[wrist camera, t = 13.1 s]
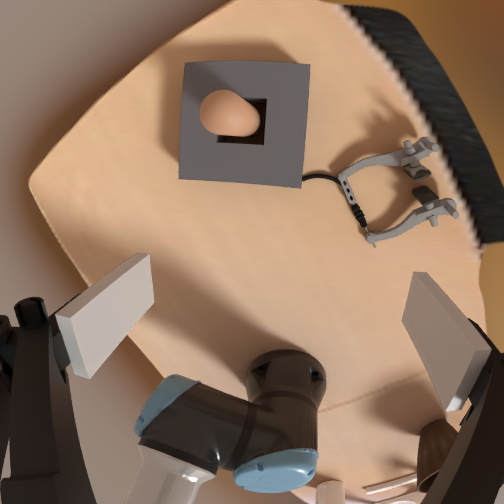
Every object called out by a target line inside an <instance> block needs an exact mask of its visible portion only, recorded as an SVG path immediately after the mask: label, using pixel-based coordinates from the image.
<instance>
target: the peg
mask: <svg viewBox="0 0 504 504" xmlns="http://www.w3.org/2000/svg"><path fill="white" fill-rule="evenodd" d="M199 116H200V120H201V123H202V125H203V126H204V127H205V128H206V129H207V130H208V131H209V132H211V133H214V134H217V135H230V136H241V137H252V136H255V135H257V134H258V133H259V132H260V131H261V129H262V127H263V124H264V120H263V116H262V114H261V113H260V112H259V111H258V110H257V109H256V108H255V107H253V106H252V105H251V104H249V103H248V102H247V101H245V100H244V99H243V98H241V97H240V96H239V95H237V94H236V93H234V92H232V91H229V90H218V91H215V92H212V93H211V94H209V95H208V96H207V97H206V98H205V99H204V100H203V102H202V104H201V106H200V111H199Z"/></svg>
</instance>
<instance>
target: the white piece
mask: <svg viewBox="0 0 504 504" xmlns="http://www.w3.org/2000/svg"><path fill="white" fill-rule="evenodd" d="M416 480H417V473H416V474H413V475H410V476H407V477H403V478H400V479H397V480H394V481H390V482H387V483H383V484H379V485H376V486H372V487H368V488H366V494H367V495H368V494H372V493H376V492H380V491H384V490H387V489H391V488H394V487H398V486H401V485H404V484H407V483H410V482H414V481H416ZM426 494H427V493H420V492H419V491H416V492H413V493H410V494H406V495H403V496H400V497H396V498H393V499H389V500H385V501H382V502H378V503H374V504H396V503H401V502H410V503H414V504H420V503H421V502H422V500H423V499H424V497H425V495H426Z"/></svg>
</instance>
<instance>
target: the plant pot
mask: <svg viewBox="0 0 504 504" xmlns="http://www.w3.org/2000/svg"><path fill="white" fill-rule="evenodd" d="M457 435H458V432H457V431H456V430H455V429H454V428H453V427H452V426H451V425H450V424H449V423H448V422H447V421H445V420H437V421H434V422H432V423H430V424H428V425H427V426H425V427H424V428H423V430H422V431H421V434H420V440H419V448H418V458H417V490H418V491H419V492H420V493H427V492H428V491H429V489H430V487H431V485H432V484H433V482H434V480H435V479H436V477H437V475H438V473H439V471H440V470H441V468H442V466H443V464H444V462H445V460H446V458H447V456H448V454H449V452H450V450H451V448H452V446H453V444H454V442H455V440H456V437H457Z"/></svg>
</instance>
